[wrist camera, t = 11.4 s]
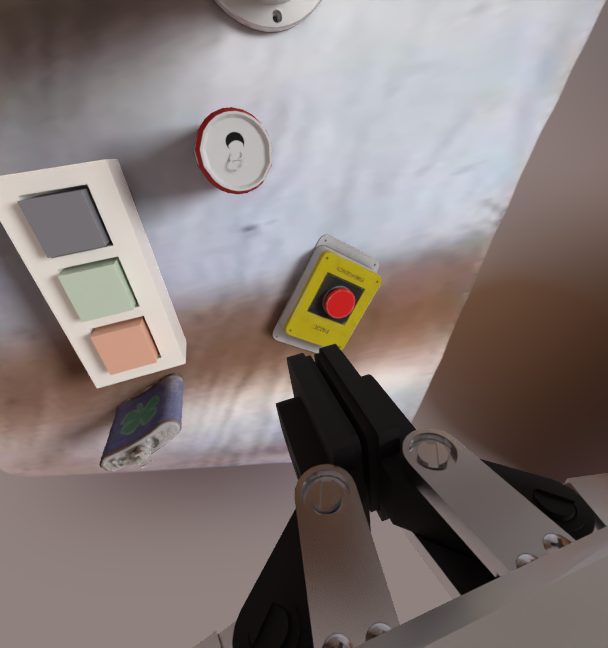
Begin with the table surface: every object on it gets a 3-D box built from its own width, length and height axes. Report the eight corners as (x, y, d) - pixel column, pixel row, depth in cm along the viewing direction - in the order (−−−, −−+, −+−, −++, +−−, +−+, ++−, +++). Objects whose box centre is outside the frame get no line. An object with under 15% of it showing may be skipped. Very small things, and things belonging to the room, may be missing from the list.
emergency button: (397, 270, 40) (337, 371, 44) (379, 260, 44) (326, 354, 48) (335, 238, 36) (276, 353, 40) (321, 230, 40) (268, 336, 44)
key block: (8, 176, 29) (-24, 179, 24) (117, 158, 30) (105, 159, 26) (107, 362, 38) (96, 388, 34) (186, 341, 40) (185, 363, 36)
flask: (175, 368, 41) (171, 430, 32) (189, 384, 43) (189, 446, 34) (110, 407, 41) (88, 480, 32) (127, 421, 43) (110, 494, 34)
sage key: (72, 263, 31) (57, 276, 28) (121, 252, 32) (113, 264, 28) (93, 305, 33) (82, 322, 30) (139, 294, 34) (133, 309, 31)
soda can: (255, 179, 35) (282, 190, 24) (202, 187, 34) (207, 202, 23) (245, 117, 32) (270, 100, 22) (187, 124, 31) (185, 108, 21)
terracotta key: (100, 319, 34) (90, 337, 31) (145, 308, 35) (140, 324, 31) (118, 354, 36) (110, 375, 33) (159, 343, 37) (156, 362, 34)
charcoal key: (38, 195, 28) (16, 201, 25) (93, 186, 29) (80, 190, 26) (63, 246, 30) (47, 257, 27) (114, 236, 31) (105, 246, 28)
